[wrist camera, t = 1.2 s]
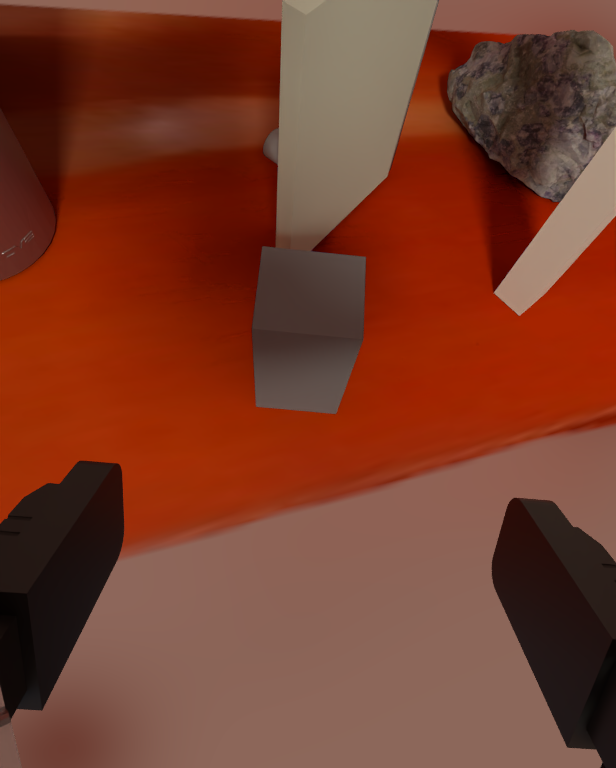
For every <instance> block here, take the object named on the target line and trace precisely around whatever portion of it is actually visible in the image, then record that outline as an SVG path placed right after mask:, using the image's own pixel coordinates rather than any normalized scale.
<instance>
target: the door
mask: <svg viewBox="0 0 616 768" xmlns="http://www.w3.org/2000/svg"><path fill="white" fill-rule="evenodd" d="M438 2H439V0H283V1H282V32H281V69H280V107H279V129H278V128H277V129H275V130H273V131H272V132H271V133H270V134H269V135H268V137H267V139H266V141H265V143H264V147H263V153H264V155H265V156H266V157H267V158H269V159H270V160H272V161H273V162H275V163H276V164H278V182H277V219H276V248H284V249H293V250H303V251H311V250H312V249H313V248H314V247H315V246H316V245H317V244H318V243H319V242H320V241H321V240H322V239H323V238H324V237H325V236H326V235H328V234H329V233H330V232H331V231H332V230H333V229H334V228H335V227H336V226H337V225H338V224H339V223H340V222H341V221H342V220H343V219H344V218H345V217H346V216H347V215H348V214H349V213H350V212H351V211H352V210H353V209H354V208H355V207H356V206H357V205H358V204H359V203H360V202H361V201H362V200H363V199H364V198H365V197H367V196H368V195H369V194H370V193H371V192H372V191H373V190H374V189H375V188H376V187H377V186H378V185H379V184H380V183H381V182H382V181H383V180H384V179H385V178H386V177H387V176H388V172H389V171H390V169H391V166H392V163H393V159H394V156H395V152H396V149H397V145H398V142H399V138H400V135H401V131H402V128H403V124H404V121H405V117H406V114H407V110H408V107H409V103H410V100H411V96H412V93H413V89H414V86H415V82H416V79H417V75H418V72H419V69H420V65H421V62H422V58H423V55H424V51H425V48H426V44H427V41H428V37H429V34H430V30H431V27H432V23H433V19H434V16H435V12H436V9H437V6H438Z"/></svg>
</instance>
